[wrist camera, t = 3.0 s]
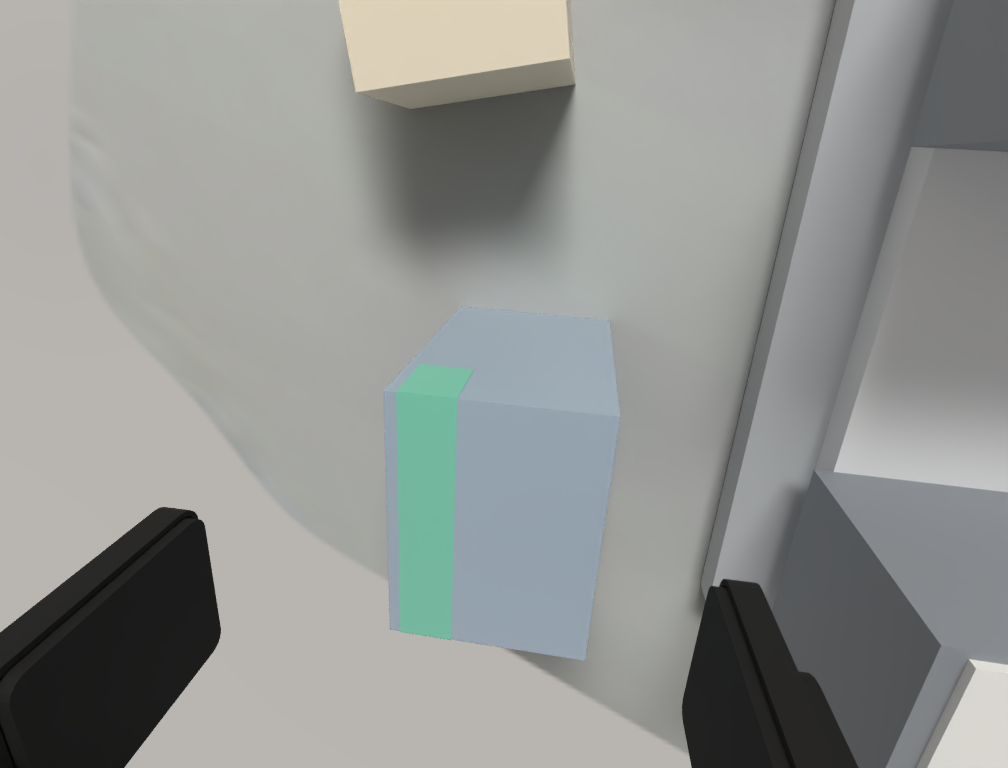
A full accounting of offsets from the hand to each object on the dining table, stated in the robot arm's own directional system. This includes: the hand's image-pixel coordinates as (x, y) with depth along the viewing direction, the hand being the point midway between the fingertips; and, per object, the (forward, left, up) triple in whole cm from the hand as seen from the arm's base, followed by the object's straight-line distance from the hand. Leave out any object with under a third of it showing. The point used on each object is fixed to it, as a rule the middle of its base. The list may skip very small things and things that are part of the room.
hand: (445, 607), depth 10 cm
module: (0, +1, -9) cm, 9 cm away
